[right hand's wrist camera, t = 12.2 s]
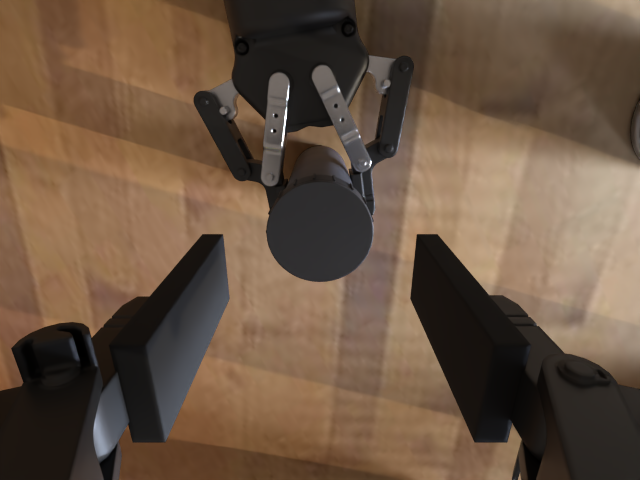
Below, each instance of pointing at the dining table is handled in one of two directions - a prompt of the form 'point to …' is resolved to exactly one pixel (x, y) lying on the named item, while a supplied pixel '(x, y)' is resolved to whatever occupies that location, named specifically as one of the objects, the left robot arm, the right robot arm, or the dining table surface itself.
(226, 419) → the dining table surface
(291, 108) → the left robot arm
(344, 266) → the lid
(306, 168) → the bottle
